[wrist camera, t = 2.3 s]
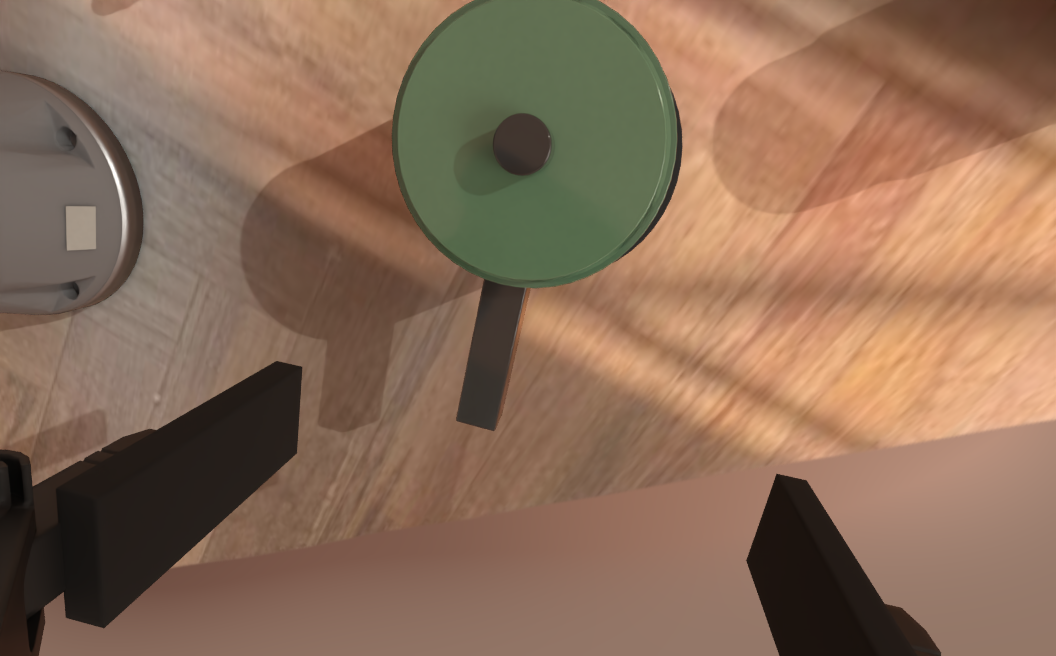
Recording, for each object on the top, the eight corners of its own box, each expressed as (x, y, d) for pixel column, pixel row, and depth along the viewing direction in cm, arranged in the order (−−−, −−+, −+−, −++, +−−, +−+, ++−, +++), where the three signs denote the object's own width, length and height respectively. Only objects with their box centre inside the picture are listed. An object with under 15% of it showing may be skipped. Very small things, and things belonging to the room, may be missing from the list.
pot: (415, 349, 35) (332, 425, 25) (471, 18, 30) (395, -65, 19) (594, 396, 35) (586, 495, 24) (686, 63, 29) (728, 2, 18)
